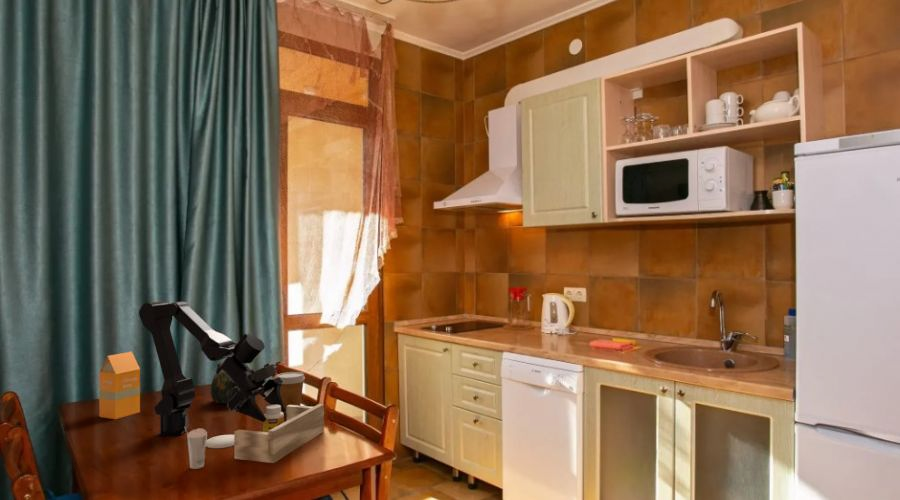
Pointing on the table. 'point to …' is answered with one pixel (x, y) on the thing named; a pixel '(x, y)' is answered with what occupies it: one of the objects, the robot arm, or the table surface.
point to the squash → (222, 388)
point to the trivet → (220, 441)
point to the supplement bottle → (273, 417)
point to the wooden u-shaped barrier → (280, 435)
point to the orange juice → (119, 386)
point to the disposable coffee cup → (291, 388)
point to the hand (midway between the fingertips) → (275, 416)
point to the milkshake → (197, 447)
